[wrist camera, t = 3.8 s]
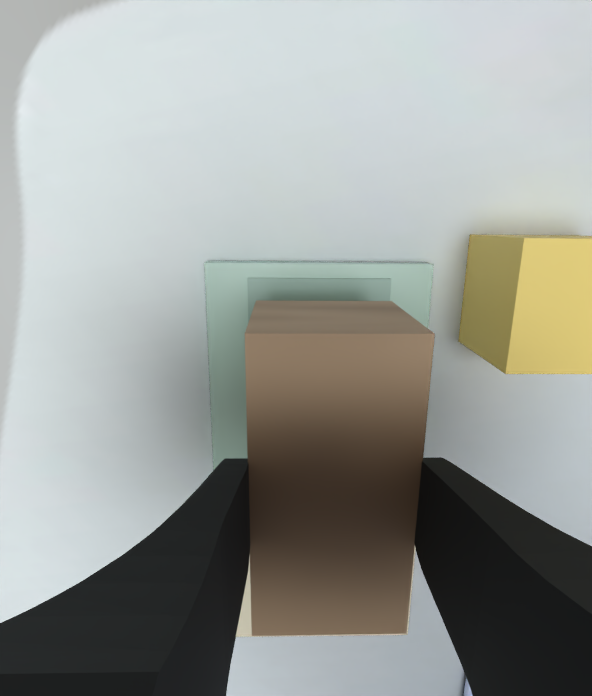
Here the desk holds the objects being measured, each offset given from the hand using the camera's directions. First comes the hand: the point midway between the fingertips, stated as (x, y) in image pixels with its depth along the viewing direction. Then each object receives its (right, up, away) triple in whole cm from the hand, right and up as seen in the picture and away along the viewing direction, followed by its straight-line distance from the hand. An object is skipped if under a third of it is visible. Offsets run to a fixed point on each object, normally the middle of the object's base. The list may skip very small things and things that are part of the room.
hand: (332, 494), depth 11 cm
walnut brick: (0, +1, +3) cm, 4 cm away
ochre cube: (+7, +6, +6) cm, 11 cm away
